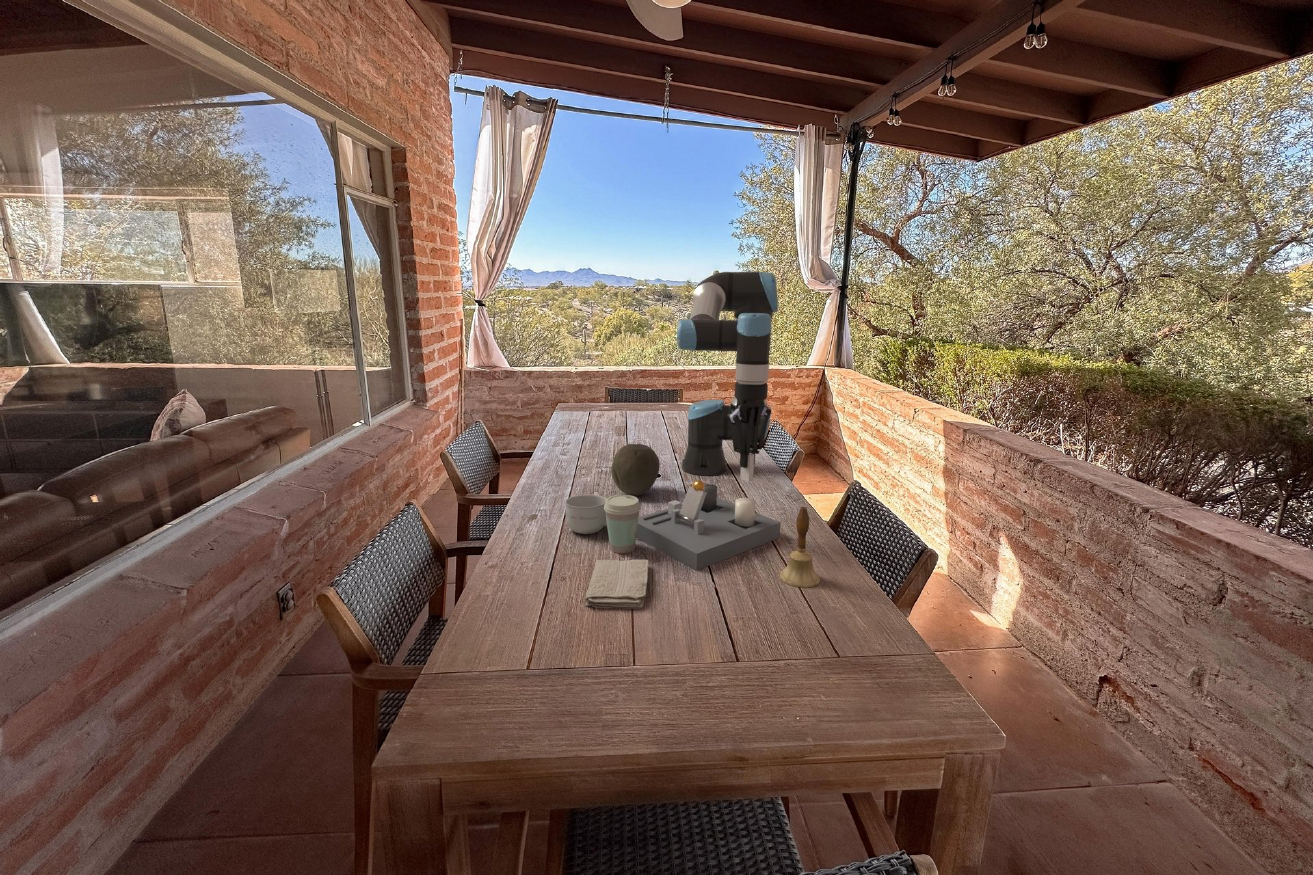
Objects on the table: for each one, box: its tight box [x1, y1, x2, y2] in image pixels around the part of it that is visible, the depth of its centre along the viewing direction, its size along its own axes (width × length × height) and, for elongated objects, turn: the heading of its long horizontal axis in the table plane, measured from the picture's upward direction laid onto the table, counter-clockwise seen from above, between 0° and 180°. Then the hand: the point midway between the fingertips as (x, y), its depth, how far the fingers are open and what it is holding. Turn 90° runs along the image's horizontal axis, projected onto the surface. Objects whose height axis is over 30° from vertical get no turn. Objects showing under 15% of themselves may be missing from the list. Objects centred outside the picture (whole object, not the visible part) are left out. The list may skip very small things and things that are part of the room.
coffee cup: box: [604, 494, 642, 554], centre depth 135 cm, size 8×8×12 cm
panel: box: [636, 497, 782, 571], centre depth 142 cm, size 28×24×7 cm
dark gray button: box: [701, 483, 718, 511], centre depth 151 cm, size 5×5×6 cm
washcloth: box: [584, 559, 649, 610], centre depth 119 cm, size 12×18×3 cm, turn 179°
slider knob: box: [667, 500, 683, 515], centre depth 146 cm, size 2×2×3 cm
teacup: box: [564, 494, 608, 535], centre depth 145 cm, size 14×11×8 cm
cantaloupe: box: [611, 443, 661, 497], centre depth 171 cm, size 14×14×15 cm
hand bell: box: [779, 506, 821, 589], centre depth 121 cm, size 8×8×16 cm
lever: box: [677, 480, 706, 525], centre depth 138 cm, size 3×6×10 cm, turn 40°
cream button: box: [734, 497, 756, 527], centre depth 141 cm, size 5×5×6 cm
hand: (746, 479), depth 139 cm, fingers closed
